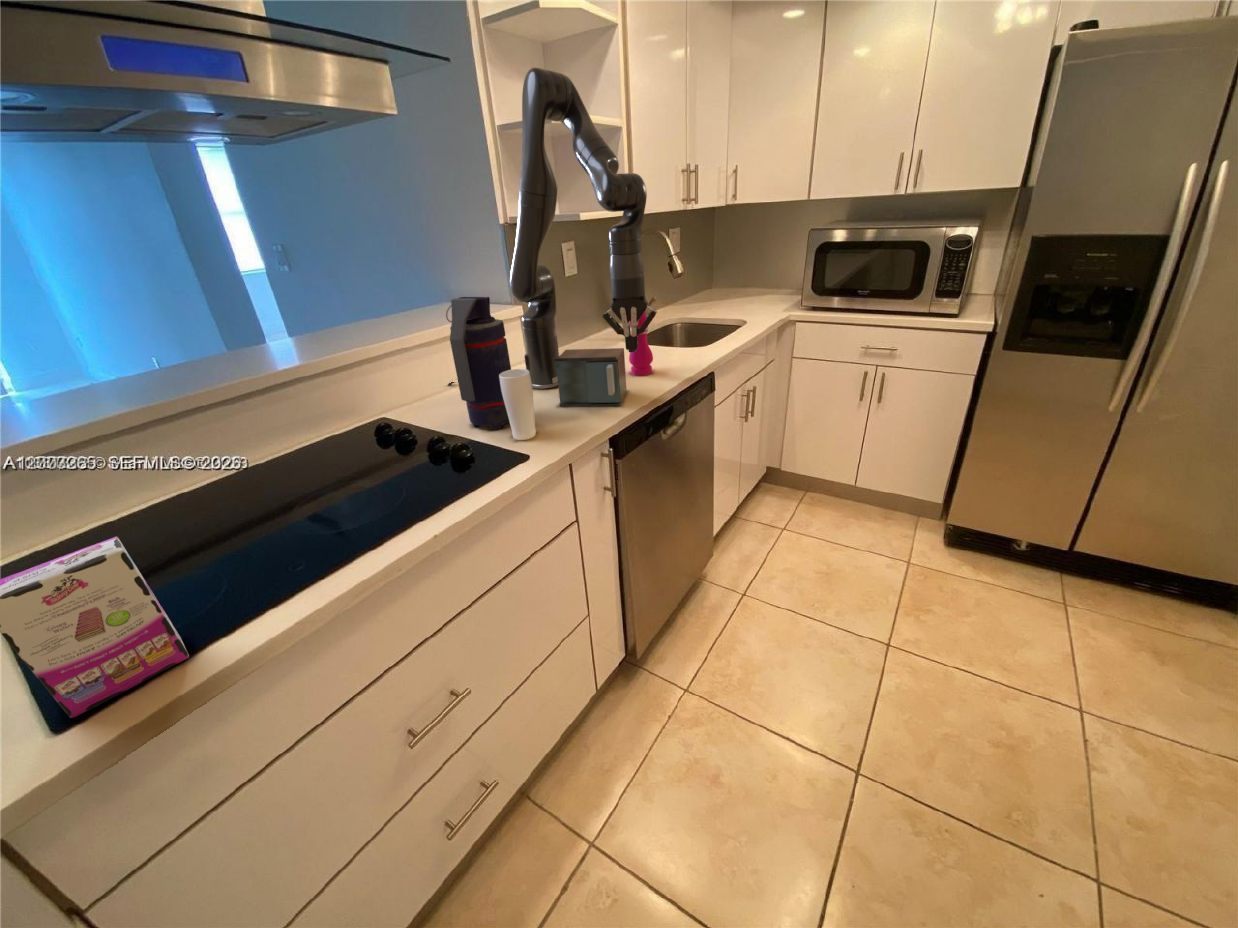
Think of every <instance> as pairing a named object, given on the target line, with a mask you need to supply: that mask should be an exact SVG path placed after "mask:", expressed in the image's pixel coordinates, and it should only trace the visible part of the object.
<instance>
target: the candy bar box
mask: <svg viewBox="0 0 1238 928" xmlns="http://www.w3.org/2000/svg"><path fill="white" fill-rule="evenodd" d="M0 634H1V636H2V637H3V639H5V640H6V642H7V643H8V644H9V645H10V646H11V648H12V649H13V650H14V651H15V653H16V654H17V655H18V656H19V657H20V658H21V660H22V661H23V662H24V664H25V665H26V666H27V667H28V669H30V671H31V672H32V673H33V674H34V676H35V677H36V678H37V679H38V680H39V682H40V683H41V684H42V685H43V687H44V688H45V689H46V690H47V692H48V693H49V694H50V695H51V696H52V697H53V698H54V700H55V701H56V702H57V704H58V705H59V706H60V708H61V709H62V710H63V711H64V713H65V714H66V715H67V716H68V717H69V718H70V719H73V718H76V717H78V716H80V715H82V714H84V713H86V712H88V711H90V710H92V709H94V708H95V707H98V706H100V705H101V704H103V703H105V702H107V701H109V700H111V699H113V698H116V697H117V696H118V695H121V694H123V693H124V692H126V691H128V690H130V689H132V688H134V687H136V686H138V685H140V684H142V683H144V682H145V681H147V680H149V679H151V678H153V677H155V676H158V674H161V673H162V672H164V671H167V670H169V669H170V668H172V667H174V666H176V665H177V664H180V663H182V662H183V661H186V660H187V659H189V658H190V654H189V653H188V650H187V648H186V646H185V643H184V642H183V639H182V637H181V636H180V634H179V633H178V630H177V629H176V628H175V626H174V625H173V623H172V621H171V620H170V618H169V616H168V614H167V613H166V611H165V610H164V608H163V606H161V604H160V602H159V600H158V599H157V597H156V596H155V593H153V590H152V589H151V587H150V586H149V585H148V582H147V581H146V580H145V578H144V576H143V575H142V573H141V572H140V570H139V568H138V567H137V565H136V564H135V562H134V561H133V559H132V557H131V555H130V554H129V553H128V551H127V549H126V548H125V546H124V544H123V543H122V541H121V540H120V538H119V537H118V536H114V537H111V538H109V539H106V540H103V541H101V542H97V543H95V544H92V545H90V546H89V545H88V546H86V547H84V548H81V549H78V550H75V551H73V552H71V553H68V554H65V555H62V556H59V557H57V558H55V559H52V560H49V561H46V562H44V563H41V564H38V565H35V566H33V567H30V568H28V569H24V570H22V571H19V572H17V573H14V574H11V575H8V576H6V577H3V578H1V579H0Z"/></svg>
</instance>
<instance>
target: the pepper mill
mask: <svg viewBox="0 0 1238 928" xmlns="http://www.w3.org/2000/svg"><path fill="white" fill-rule="evenodd" d="M646 319H647V317H646V310H645V311H644V313H643V314H642V316H641V318H640V319H639V320H638V328H640V327H641V326H642V324H643V323H644V321H645V320H646ZM630 326H631V321H630ZM648 333H649V326H648V327H647V328H646V330H645V331H644V332H643V333H642V334H639V335H638V348H637V350H636V351H635V352H629V356H628V361H629V364H631V368H630V372H631V375H632V376H637V377H638V376H639V377H640V376H648V375H650V374H652V372H653V367H652V365H651V364H652V362H653V361H654V355H653V351H652V350H651V348H650V346H649V343H648Z"/></svg>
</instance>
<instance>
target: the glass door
mask: <svg viewBox="0 0 1238 928" xmlns="http://www.w3.org/2000/svg"><path fill="white" fill-rule="evenodd" d="M585 367H586V377H587V387H588V397H589V403H597V402H620V396H619V382H618V368H617V362H589V363H585Z"/></svg>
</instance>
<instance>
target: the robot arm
mask: <svg viewBox="0 0 1238 928" xmlns="http://www.w3.org/2000/svg"><path fill="white" fill-rule="evenodd" d="M522 85H523V86H522V93H521V95H522V96H521V103H522V104H521V112H522V113H521V122H522V123H521V124H522V125H521V126H522V128H521V129H522V130H521V131H522V138H521V139H522V140H521V141H522V142H521V143H522V146H521V164H520V165H521V168H520V176H519V177H520V179H519V187H518V188H519V189H518V204H517V209H518V210H517V222H516V234H515V244H514V251H513V257H512V263H511V268H510V275H509V276H510V277H509V287H510V291H511V295H512V296H513V297H514V299H515V300H516V301H517V302H519V303H522V304H528V307H527V309H526V311H525V312H524V314H523V315H522V316H521V325H522V327H521V328H522V333H523V339H524V346H525V354H524V364H525V369H526V370H528V371H529V372H530V377H531V382H532V389H538V390H539V389H541V390H546V389H553V388H558V380H557V372H556V364H555V362H554V358H558V357H559V356H560V351H559V350H560V349H559V343H558V334H557V327H556V325H557V324H556V315H557V296H556V285H555V280H554V276H553V273H552V271H551V270H550V268H549V267H548V266H546V265H545V264H543V263H539V258H540V253H541V248H542V246H543V243H544V241H545V239H546V238H547V235H548V233H549V231H550V229H551V227H552V224H553V222H554V220H555V215H556V211H557V202H558V201H557V200H558V189H559V188H558V181H557V177H556V175H555V172H554V170H553V169H554V168H553V167H552V163H551V162H550V158H549V156H548V153H547V149H546V142H545V141H546V140H545V139H546V138H545V126H546V121H549V122H555V123H561V124H562V125H564V127H566V128H567V129H568V131H570V133H571V134H572V139H571V141H572V150H573V154H574V157H575V158H576V161H577V162H578V163H579V165H580V166H581V168H582V169H583V171H584V172H585V173H586V174H587V176H588V177H589V179H590V183H591V186H592V189H593V191H594V194H595V198H596V201H597V203H598V204H599V206H600V207H601V208H602V209H604V211H606V212H610V213H617V212H618V213H619V212H622V216H621V220H620V221H619V222H618V223H616V224H613V225H612V226H611V227H610V228H609V229H608V247H609V277H610V286H611V299H612V300H611V304H610V308H609V309H608V310H607V311H605V312H604V313H603V314H602V318H603V320H605V322H606V323H607V324H608V325H609V326H610V327H611V328H612V330H613V331H614V332H615V333H616V334H617V335H621V336H623V337H624V343H625V349H626V351H628V353H630V352H635V351H636V350H637V348H638V335H639V334H642V333H643V332H644V331H645V330H646V328H647V327H648V328H649V325H650V324H651V322H652V321H653V320H654V318H655V317H656V315H657V313H658V311H657V309H655V308H652V307H651V306H649V304H648V301H647V297H646V286H645V285H646V284H645V269H644V268H645V267H644V266H645V265H644V259H643V253H642V252H643V251H642V235H641V233H642V227H643V223H644V217H645V210H646V204H647V198H648V196H647V195H648V194H647V193H648V192H647V186H646V183H645V181H644V179H643V177H642V176H641V175H639V174H638V173H636V172H626V173H618V172H619V169H620V163H619V159H618V157H617V155H616V153H615V152H614V151H613V149H612V148H611V147H610V145H609V144H608V143H607V141H606V140H605V139H604V137H603V136H602V135H601V133H600V132H599V131H598V128H597V127H596V125H595V123H594V122H593V120H592V118H591V116H590V114H589V112H588V110H587V108H586V105H585V104H584V102H583V100H582V97H581V95H580V93H579V91H578V89H577V87H576V86H575V84H574V83H573V81H572V79H571V78H570V77H569V76H567V75H566V74H563V73H561V72H557V71H553V70H549V69H546V68H540V67H531V68H530V69H528V71H527V73H526V74H525V77H524V80H523V83H522ZM644 311H645V312H646V317H647V319H646V320H645V321H644V323H643V324H642V326H641V327H640V328H638V320H639V319H640V318H641V316H642V314H643V313H644ZM615 316H616V317H617V318H618V320H620V321H621V324H620V323H619V322H618V321H617V320H616V318H615ZM630 321H631V325H630ZM450 382H451V381H450ZM450 382H448V383H447V384H446V385H447V386H448V387H450V386H451V385H452V384H454V383H456V382H451V383H450Z"/></svg>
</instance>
